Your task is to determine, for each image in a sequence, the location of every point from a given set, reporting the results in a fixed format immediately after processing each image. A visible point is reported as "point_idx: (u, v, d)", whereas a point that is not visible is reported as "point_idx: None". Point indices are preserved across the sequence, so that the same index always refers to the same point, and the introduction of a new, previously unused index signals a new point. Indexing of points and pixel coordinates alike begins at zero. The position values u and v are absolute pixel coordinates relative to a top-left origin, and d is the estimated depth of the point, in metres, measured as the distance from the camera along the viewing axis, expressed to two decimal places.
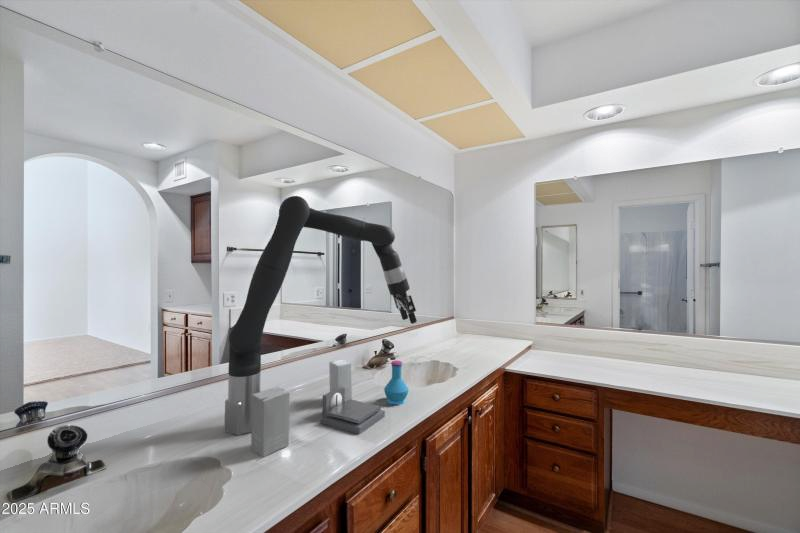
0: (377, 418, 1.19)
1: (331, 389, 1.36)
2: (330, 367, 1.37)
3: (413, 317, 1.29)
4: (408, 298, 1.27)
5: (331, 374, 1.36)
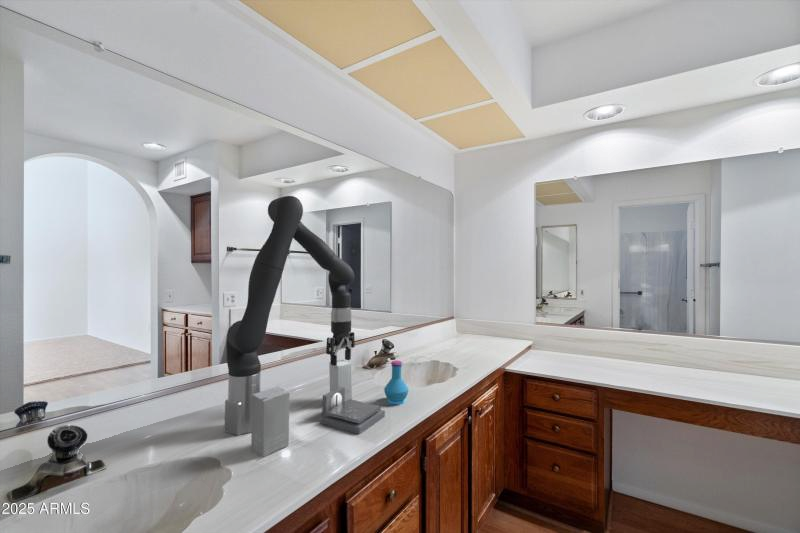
0: (377, 418, 1.19)
1: (331, 389, 1.36)
2: (330, 367, 1.37)
3: (332, 359, 1.32)
4: (329, 340, 1.30)
5: (331, 374, 1.36)
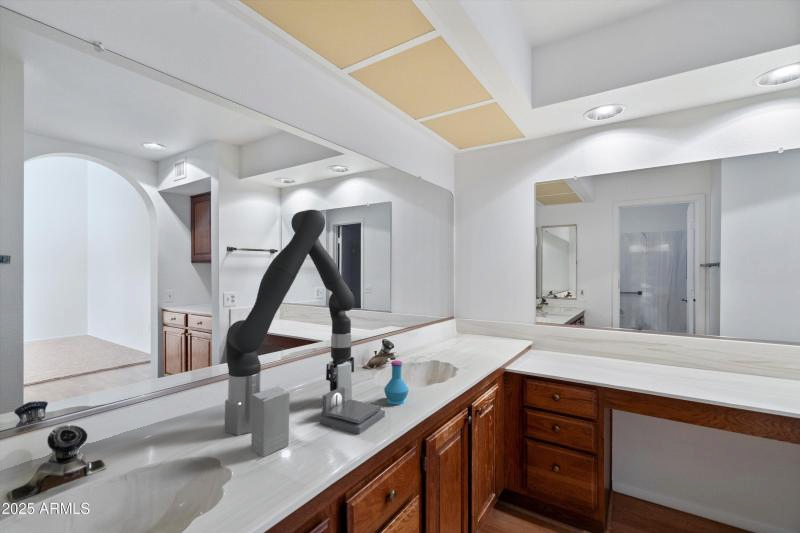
0: (377, 418, 1.19)
1: None
2: None
3: (332, 386, 1.32)
4: (329, 366, 1.30)
5: None
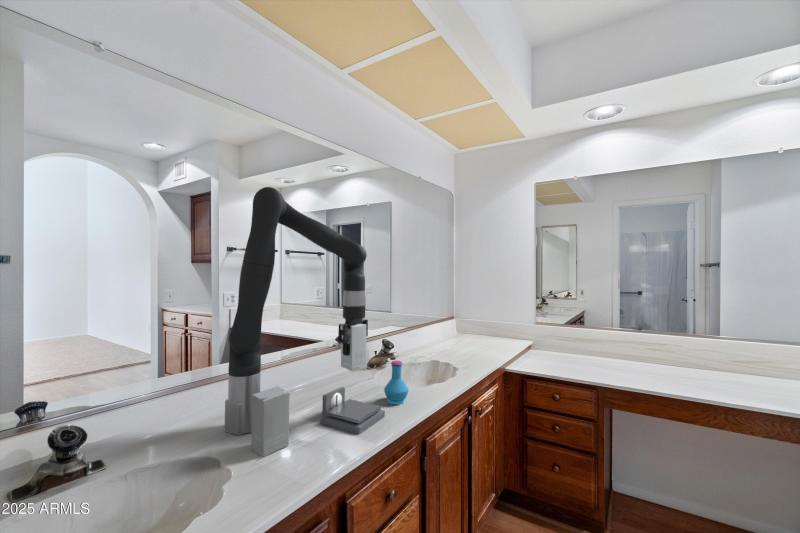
0: (377, 418, 1.19)
1: None
2: None
3: (344, 349, 1.17)
4: (341, 326, 1.15)
5: None
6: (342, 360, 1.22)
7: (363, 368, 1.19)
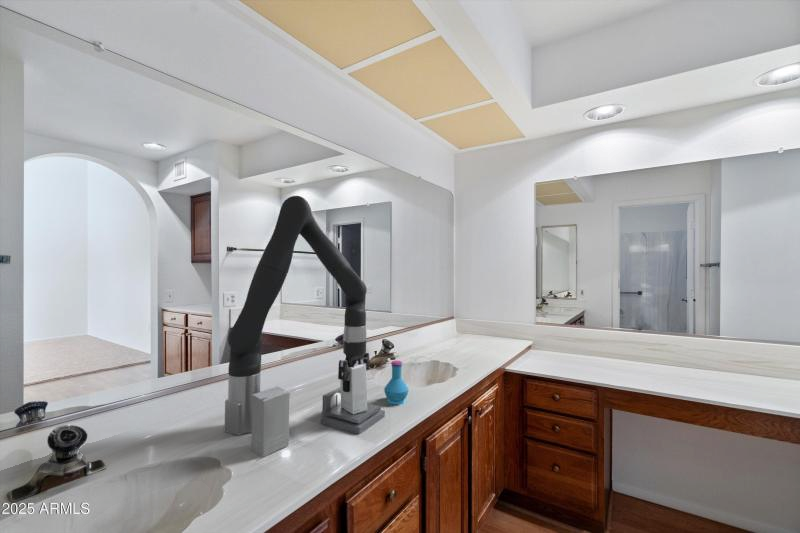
0: (377, 418, 1.19)
1: (343, 395, 1.19)
2: None
3: (344, 385, 1.15)
4: (342, 363, 1.14)
5: None
6: (342, 401, 1.20)
7: (364, 410, 1.18)
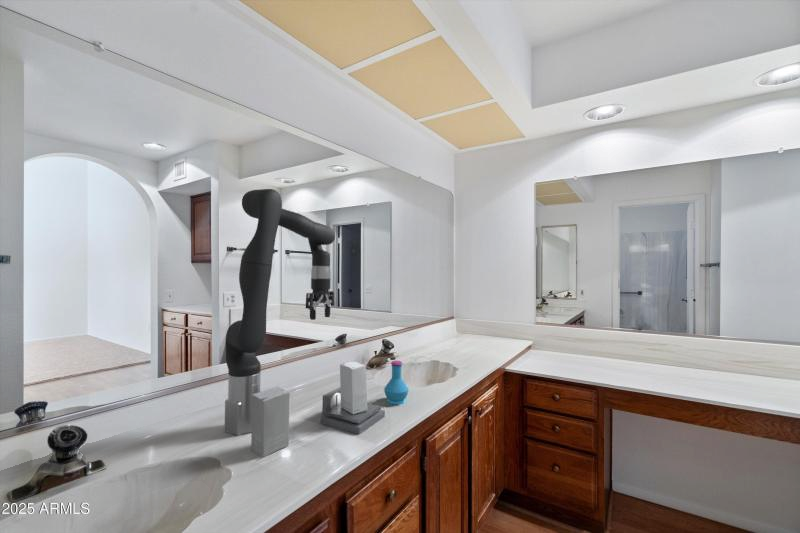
0: (377, 418, 1.19)
1: (343, 395, 1.19)
2: (341, 370, 1.20)
3: (311, 314, 1.39)
4: (308, 294, 1.38)
5: (343, 378, 1.19)
6: (342, 401, 1.20)
7: (364, 410, 1.18)
